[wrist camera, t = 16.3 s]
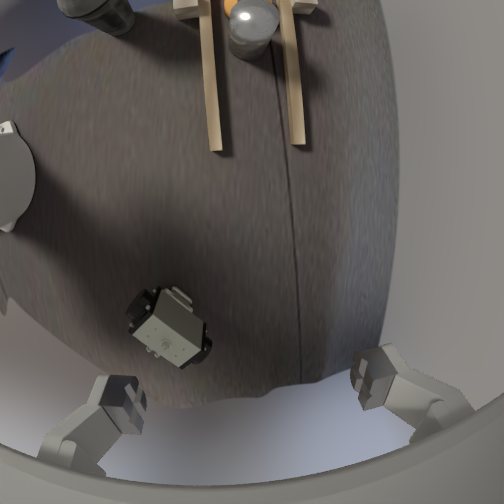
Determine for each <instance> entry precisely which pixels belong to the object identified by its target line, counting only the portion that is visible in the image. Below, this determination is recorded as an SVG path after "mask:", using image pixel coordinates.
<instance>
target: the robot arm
mask: <svg viewBox="0 0 504 504" xmlns="http://www.w3.org/2000/svg"><path fill="white" fill-rule="evenodd" d="M34 188H35V166H34V161H33V157H32V154H31V152H30V149H29V147H28V146H27V144H26V143H25V142H24V140H23V139H22V138H21V137H20V136H19V135H18V133H17V130H16V127H15V124H14V122H13V121H7V122H4V123H2V124H0V229H1V230H3V231H5V232H9V231H12V230H13V228H14V226H15V223H16V221H17V219H18V218H19V217H20V216H21V215H22V214H23V213H24V212H25V211H26V209H27V208H28V206H29V204H30V202H31V200H32V197H33V193H34ZM353 361H354V363H355V364H354V365H353V366H352V367H351V371H350V379H351V383H352V386H353V389H354V390H355V391H357V392H359V396H358V400H359V402H360V404H361V406H362V408H363V410H364V411H365V410H369V409H372V408H376V407H379V406H383V405H384V407H385V408H387V409H388V410H389V411H391V412H392V413H394V414H395V415H396V416H398V417H400V418H401V419H402V420H404V421H405V422H407V423H408V424H409V425H411V426H412V427H414V428H415V429H416V430H415V432H414V433H413V435H412V436H411V438H410V440H409V442H410V444H409V445H407V446H404V447H402V448H399V449H397V450H394V451H391V452H389V453H386V454H383V455H380V456H378V457H374V458H371V459H369V460H365V461H362V462H359V463H356V464H352V465H348V466H345V467H341V468H337V469H333V470H329V471H325V472H321V473H316V474H311V475H306V476H301V477H295V478H290V479H284V480H276V481H269V482H260V483H250V484H237V485H212V486H192V485H189V486H188V485H168V484H155V483H145V482H137V481H128V480H122V479H116V478H110V477H106V472H105V471H104V470H103V469H102V468H101V467H100V466H98V465H97V463H98V461H99V460H100V459H101V458H102V457H103V455H105V453H106V452H107V451H108V450H109V449H110V448H111V446H112V445H113V444H114V443H115V442H116V441H117V440H118V438H119V437H120V436H121V435H122V434H137V435H141V433H142V428H143V423H144V421H143V419H142V417H141V416H142V415H143V414H144V413H145V412H146V407H147V401H146V396H145V393H144V391H143V390H142V389H141V388H139V387H138V385H139V381H138V379H137V377H136V376H125V375H105V374H100V375H99V376H98V377H97V379H96V382H95V384H94V387H93V389H92V392H91V394H90V397H89V399H88V402H87V404H83V405H82V406H81V407H79V408H78V409H77V410H75V411H74V412H73V413H72V414H70V415H69V416H68V417H67V418H65V419H64V420H63V421H62V422H60V423H59V424H58V425H56V426H55V427H54V428H53V429H51V430H50V431H49V432H47V433H46V435H45V437H44V440H43V442H42V445H41V447H40V450H39V453H38V456H37V458H35V457H33V456H30V455H27V454H24V453H22V452H19V451H17V450H15V449H12V448H10V447H7V446H5V445H3V444H1V443H0V504H504V393H502V394H501V395H500V396H498V397H497V398H495V399H494V400H492V401H491V402H489V403H488V404H486V405H484V406H483V407H481V408H480V409H478V410H476V411H475V410H474V409H473V408H472V406H471V405H470V403H469V402H468V400H467V399H466V398H465V396H464V395H463V393H462V392H461V391H460V390H459V389H457V388H454V387H452V386H450V385H448V384H446V383H444V382H441V381H439V380H437V379H435V378H433V377H430V376H428V375H426V374H424V373H421V372H419V371H417V370H415V369H411V370H410V368H409V367H408V365H407V364H406V362H405V361H404V360H403V358H402V357H401V355H400V354H399V352H398V351H397V350H396V348H395V347H394V345H393V344H391V343H389V344H385V345H381V346H377V347H373V348H369V349H365V350H361V351H357V352H355V353H354V356H353Z"/></svg>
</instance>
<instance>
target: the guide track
mask: <svg viewBox="0 0 504 504" xmlns="http://www.w3.org/2000/svg"><path fill="white" fill-rule="evenodd" d="M276 2H277V9H278V11H279V14H280V22H279V25H280V33H281V41H282V50H283V60H284V69H285V80H286V91H287V102H288V115H289V128H290V142H291V144H305V128H304V114H303V102H302V90H301V79H300V69H299V60H298V51H297V43H296V35H295V27H294V19H293V13H294V14H309V15H310V13H311V12H312V11H313V10H314V8H315V7H316V6H317V5H318V2H317V0H276ZM173 8H174V12H175V14H176V16H177V19H178V20H183V19H189V18H196V17H199V19H200V36H201V51H202V64H203V77H204V90H205V102H206V113H207V124H208V134H209V144H210V151H217V150H222V139H221V128H220V117H219V106H218V95H217V83H216V71H215V58H214V45H213V31H212V17H211V2H210V0H173Z"/></svg>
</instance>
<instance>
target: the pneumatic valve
mask: <svg viewBox="0 0 504 504" xmlns="http://www.w3.org/2000/svg"><path fill="white" fill-rule="evenodd" d="M171 289H172V290H171V291H170V290H169V289H167V288H165V289H164V290H163V289H161V288H160V287H159V286H158V287H157V288H156V289H154V290H153V291H152V293H150V292H149V291H148V290H146V289H143V290H142V291H141V292H140V293H139V294H138V295H137V296H136V297H135V299H134V300H133V301H132V303H131V304H130V306H129V307H128V309H127V311H126V316H128V317H129V318H130V319H131V320H132V321H131V322H130V324H129V326H131V327H130V329H129V333H130V334H132V335H133V336H134V337H136V338H137V339H138V340H140V341H141V342H142V343H144V344H145V345H147V346H148V347H147V348H146V350H147V351H148V352H151V351H152V350H154V351H155V352H156V353H154V355H155V357H157V358H158V357H160V356H162V357H164V358H165V359H167V360H168V361H170V362H171V363H173V364H174V365H176V366H177V367H179V368H180V369H183V368H185V367H186V366H187V365H189V364H190V363H193V364H199V363H201V362H202V361H203V360H204V359H205V358H206V357H207V355H208V354H209V352H210V350H211V348H212V340H211V339H210V338H208V337H207V336H206V332H207V330H206V324H205V323H204V322H203V321H202V320H200V319H199V318H198V317H196V316H195V315H194V314H192V312H193V309H192V308H191V307H190V304H192V301H191V298H190V297H189V296H187V295H186V294H185V293H184V292H182V291H181V290H180V289H179V288H178V287H176V286H175V287H174V286H172V288H171Z"/></svg>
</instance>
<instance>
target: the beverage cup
mask: <svg viewBox="0 0 504 504" xmlns="http://www.w3.org/2000/svg"><path fill="white" fill-rule="evenodd" d="M57 3H58V7H59V8H60V10H61V11H62V13H63V14H64V15H65V16H66V17H68V18H72V19H78V20H81V21H84V22H86V23H88V24H90V25H92V26H94V27H96V28H98V29H100V30H101V31H103V32H105V33H108V34H110V35H113V36H118V35H122V34H124V33H126V32H127V31H129V30H130V29H131V28H132V26H133V25H134V22H135V15H134V12H133V10H132V8H131V6H130V4H129V2H128V0H57Z"/></svg>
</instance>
